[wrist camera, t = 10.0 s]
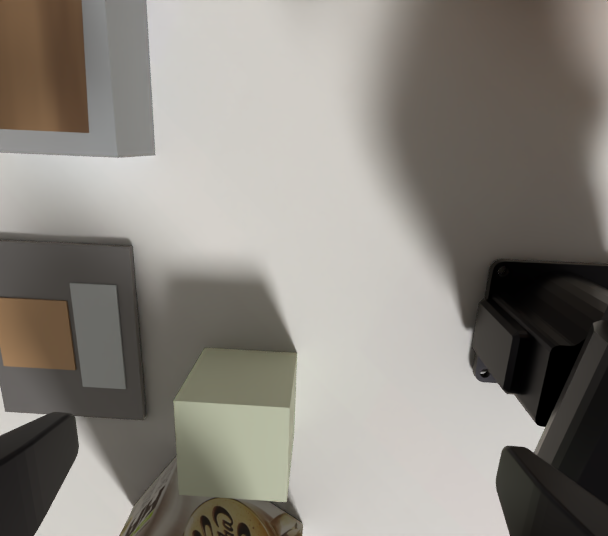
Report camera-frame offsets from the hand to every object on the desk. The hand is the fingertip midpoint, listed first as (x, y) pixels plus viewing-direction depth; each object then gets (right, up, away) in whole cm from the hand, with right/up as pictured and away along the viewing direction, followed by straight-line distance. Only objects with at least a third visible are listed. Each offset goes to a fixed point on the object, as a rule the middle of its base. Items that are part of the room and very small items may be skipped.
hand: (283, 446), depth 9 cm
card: (-12, 0, +14) cm, 19 cm away
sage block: (-3, -3, +15) cm, 15 cm away
